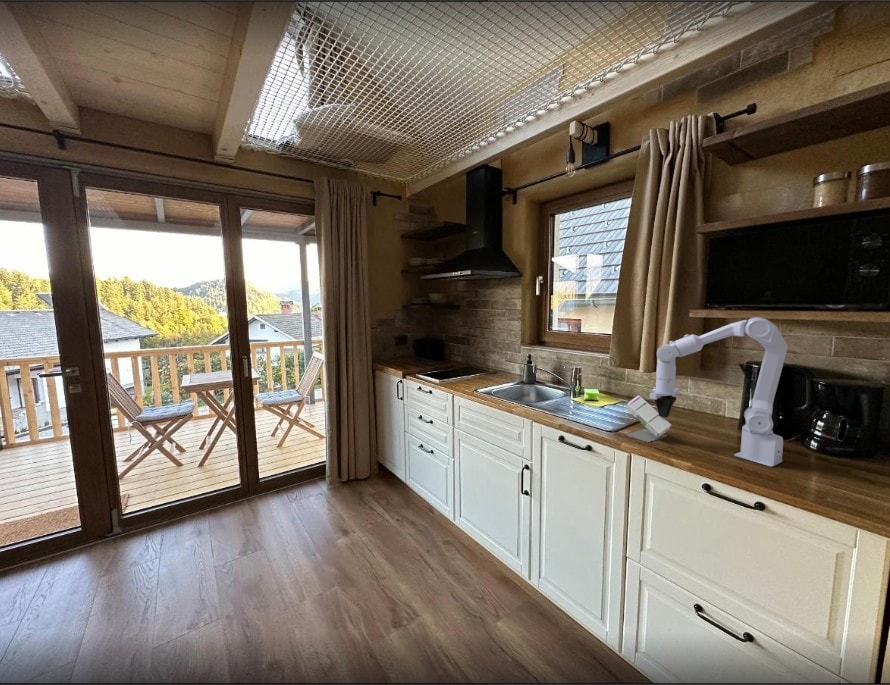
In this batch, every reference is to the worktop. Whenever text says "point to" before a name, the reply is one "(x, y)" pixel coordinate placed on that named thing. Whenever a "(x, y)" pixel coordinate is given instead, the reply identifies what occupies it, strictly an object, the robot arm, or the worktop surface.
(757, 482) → the worktop surface
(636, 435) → the mat
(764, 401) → the robot arm
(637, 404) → the syrup box
